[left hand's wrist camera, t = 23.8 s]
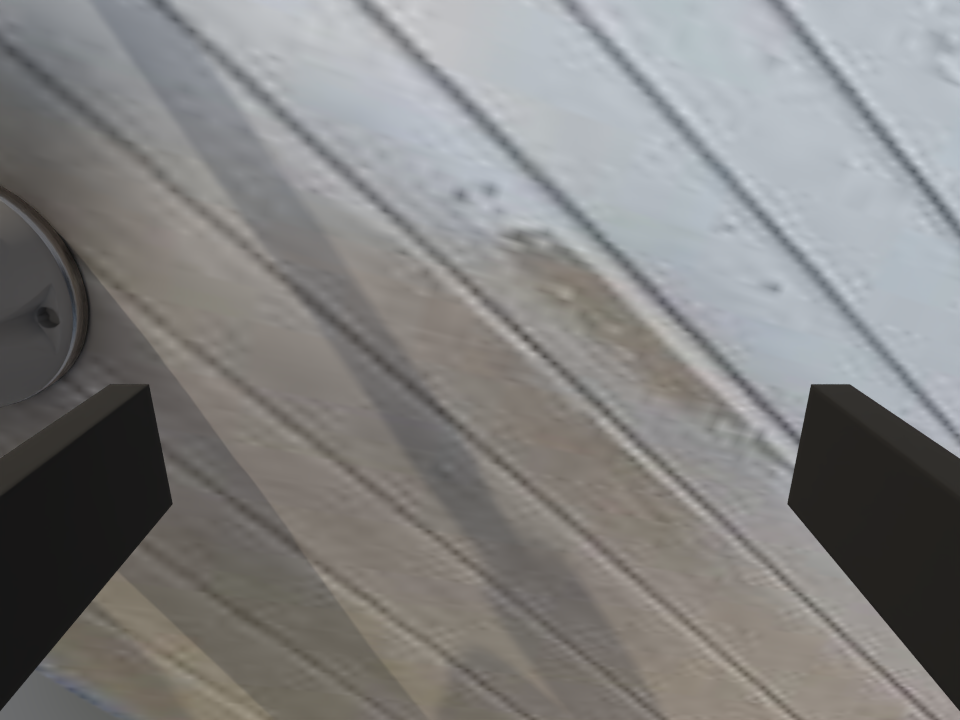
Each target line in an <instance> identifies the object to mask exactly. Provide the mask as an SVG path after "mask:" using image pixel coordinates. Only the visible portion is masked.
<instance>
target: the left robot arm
mask: <svg viewBox="0 0 960 720" xmlns="http://www.w3.org/2000/svg"><path fill="white" fill-rule="evenodd" d="M87 327H88V303H87V296H86V291H85V287H84V283H83V280H82V277H81V274H80V272H79V269H78V267H77V265H76V263H75V261H74V259H73V257H72V255H71V253H70V251H69V250H68V248H67V246H66V245H65V243H64V242H63V240H62V239H61V238H60V236H59V235H58V234H57V232H56V231H55V230H54V229H53V228H52V227H51V225H50V224H49V223H48V222H47V221H46V220H45V219H44V218H43V217H42V216H41V215H40V214H39V213H38V212H37V211H36V210H34V209H33V208H32V207H31V206H30V205H29V204H27V203H26V202H25V201H23V200H22V199H20V198H19V197H18V196H16V195H15V194H13V193H11V192H10V191H8V190H6V189H5V188H3V187H1V186H0V407H3V406H6V405H10V404H14V403H17V402H20V401H23V400H25V399H28V398H29V397H31V396H33V395H35V394H37V393H39V392H40V391H42V390H44V389H45V388H47V387H49V386H51V385H52V384H53V383H55V382H56V381H58V380H59V379H60V378H61V377H62V376H64V375H65V374H66V373H67V371H68V370H69V369H70V368H71V367H72V366H73V364H74V363H75V361H76V360H77V358H78V356H79V354H80V352H81V350H82V347H83V344H84V342H85V338H86V333H87ZM171 505H172V499H171V493H170V488H169V483H168V478H167V473H166V468H165V463H164V458H163V453H162V448H161V443H160V438H159V433H158V428H157V423H156V418H155V413H154V408H153V403H152V398H151V393H150V388H149V384H110V385H109V386H107V387H106V388H104V389H103V390H101V391H100V392H98V393H97V394H95V395H94V396H92V397H91V398H89V399H88V400H86V401H85V402H83V403H82V404H80V405H79V406H78V407H76V408H75V409H73V410H72V411H70V412H69V413H67V414H66V415H64V416H63V417H61V418H60V419H58V420H57V421H55V422H54V423H52V424H51V425H49V426H48V427H46V428H45V429H43V430H42V431H40V432H39V433H37V434H36V435H35V436H33V437H32V438H30V439H29V440H27V441H26V442H24V443H23V444H21V445H20V446H18V447H17V448H15V449H14V450H12V451H11V452H9V453H8V454H6V455H5V456H3V457H2V458H0V711H1V709H2V708H3V707H4V706H5V705H6V703H7V702H8V701H9V700H10V699H11V697H12V696H13V695H14V694H15V693H16V691H17V690H18V689H19V688H20V687H21V685H22V684H23V683H24V682H25V681H26V679H27V678H28V677H29V676H30V675H31V673H32V672H33V671H34V670H35V669H36V667H37V666H38V665H39V664H40V663H41V661H42V660H43V659H44V658H45V657H46V655H47V654H48V653H49V652H50V651H51V649H52V648H53V647H54V646H55V645H56V643H57V642H58V641H59V640H60V639H61V637H62V636H63V635H64V634H65V633H66V631H67V630H68V629H69V628H70V627H71V625H72V624H73V623H74V622H75V621H76V619H77V618H78V617H79V616H80V615H81V613H82V612H83V611H84V610H85V609H86V607H87V606H88V605H89V604H90V603H91V601H92V600H93V599H94V598H95V597H96V595H97V594H98V593H99V592H100V591H101V589H102V588H103V587H104V586H105V585H106V583H107V582H108V581H109V580H110V579H111V577H112V576H113V575H114V574H115V573H116V571H117V570H118V569H119V568H120V567H121V565H122V564H123V563H124V562H125V561H126V559H127V558H128V557H129V556H130V555H131V553H132V552H133V551H134V550H135V549H136V547H137V546H138V545H139V544H140V543H141V541H142V540H143V539H144V538H145V537H146V535H147V534H148V533H149V532H150V531H151V529H152V528H153V527H154V526H155V525H156V523H157V522H158V521H159V520H160V519H161V517H162V516H163V515H164V514H165V513H166V511H167V510H168V509H169V508H170V507H171ZM788 505H789V507H790V508H791V509H792V510H793V511H794V513H795V514H796V515H797V516H798V517H799V519H800V520H801V521H802V522H803V523H804V525H805V526H806V527H807V528H808V529H809V531H810V532H811V533H812V534H813V535H814V537H815V538H816V539H817V540H818V541H819V543H820V544H821V545H822V546H823V547H824V549H825V550H826V551H827V552H828V553H829V555H830V556H831V557H832V558H833V559H834V561H835V562H836V563H837V564H838V565H839V567H840V568H841V569H842V570H843V571H844V573H845V574H846V575H847V576H848V577H849V579H850V580H851V581H852V582H853V583H854V585H855V586H856V587H857V588H858V589H859V591H860V592H861V593H862V594H863V595H864V597H865V598H866V599H867V600H868V601H869V603H870V604H871V605H872V606H873V607H874V609H875V610H876V611H877V612H878V613H879V615H880V616H881V617H882V618H883V619H884V621H885V622H886V623H887V624H888V625H889V627H890V628H891V629H892V630H893V631H894V633H895V634H896V635H897V636H898V637H899V639H900V640H901V641H902V642H903V643H904V645H905V646H906V647H907V648H908V649H909V651H910V652H911V653H912V654H913V655H914V657H915V658H916V659H917V660H918V661H919V663H920V664H921V665H922V666H923V667H924V669H925V670H926V671H927V672H928V673H929V675H930V676H931V677H932V678H933V679H934V681H935V682H936V683H937V684H938V685H939V687H940V688H941V689H942V690H943V691H944V693H945V694H946V695H947V696H948V697H949V699H950V700H951V701H952V702H953V703H954V705H955V706H956V707H957V708H958V709H959V711H960V458H958V457H957V456H955V455H954V454H952V453H951V452H949V451H948V450H946V449H945V448H943V447H942V446H940V445H939V444H937V443H936V442H934V441H933V440H931V439H930V438H928V437H927V436H925V435H924V434H923V433H921V432H920V431H918V430H917V429H915V428H914V427H912V426H911V425H909V424H908V423H906V422H905V421H903V420H902V419H900V418H899V417H897V416H896V415H894V414H893V413H891V412H890V411H888V410H887V409H885V408H884V407H882V406H881V405H880V404H878V403H877V402H875V401H874V400H872V399H871V398H869V397H868V396H866V395H865V394H863V393H862V392H860V391H859V390H857V389H856V388H854V387H853V386H851V385H850V384H811V388H810V393H809V398H808V403H807V408H806V413H805V418H804V423H803V428H802V433H801V438H800V443H799V448H798V453H797V458H796V463H795V468H794V473H793V478H792V483H791V488H790V493H789V499H788Z"/></svg>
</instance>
